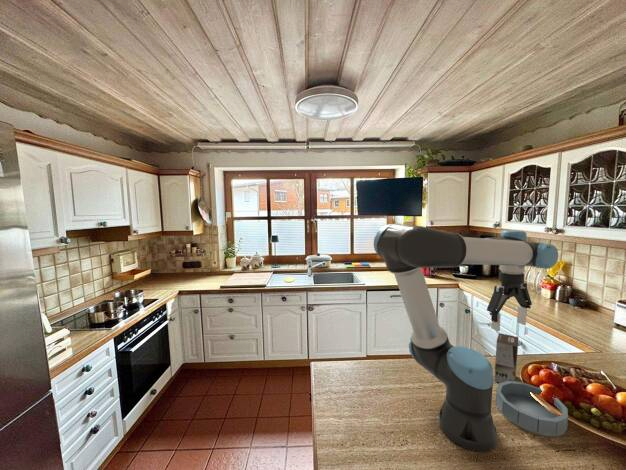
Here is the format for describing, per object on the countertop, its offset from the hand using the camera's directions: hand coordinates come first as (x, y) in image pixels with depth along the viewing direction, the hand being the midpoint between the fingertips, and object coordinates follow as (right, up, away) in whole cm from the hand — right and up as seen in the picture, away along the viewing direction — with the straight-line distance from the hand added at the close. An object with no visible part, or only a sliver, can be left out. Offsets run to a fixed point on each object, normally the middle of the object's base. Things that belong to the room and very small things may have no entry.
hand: (508, 326), depth 100 cm
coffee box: (0, -21, +2) cm, 21 cm away
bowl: (-5, -23, -15) cm, 28 cm away
